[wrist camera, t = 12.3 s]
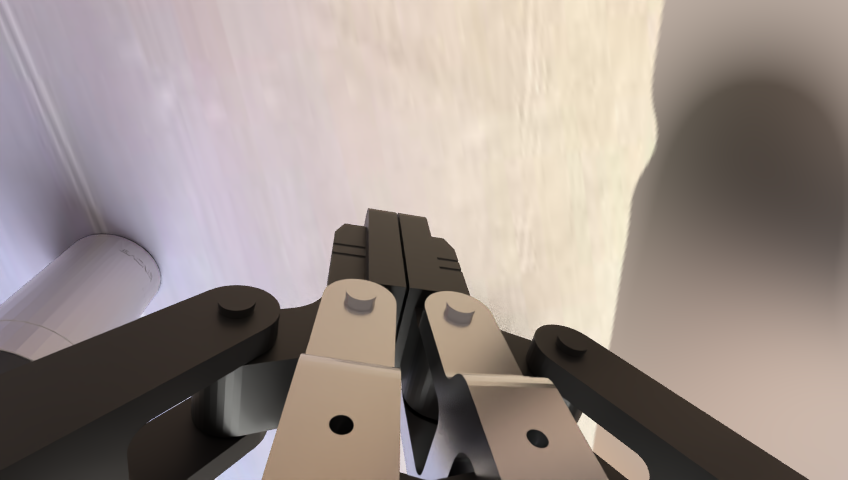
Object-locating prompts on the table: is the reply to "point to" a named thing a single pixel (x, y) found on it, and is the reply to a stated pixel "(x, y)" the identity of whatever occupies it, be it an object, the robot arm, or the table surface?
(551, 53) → the table surface
